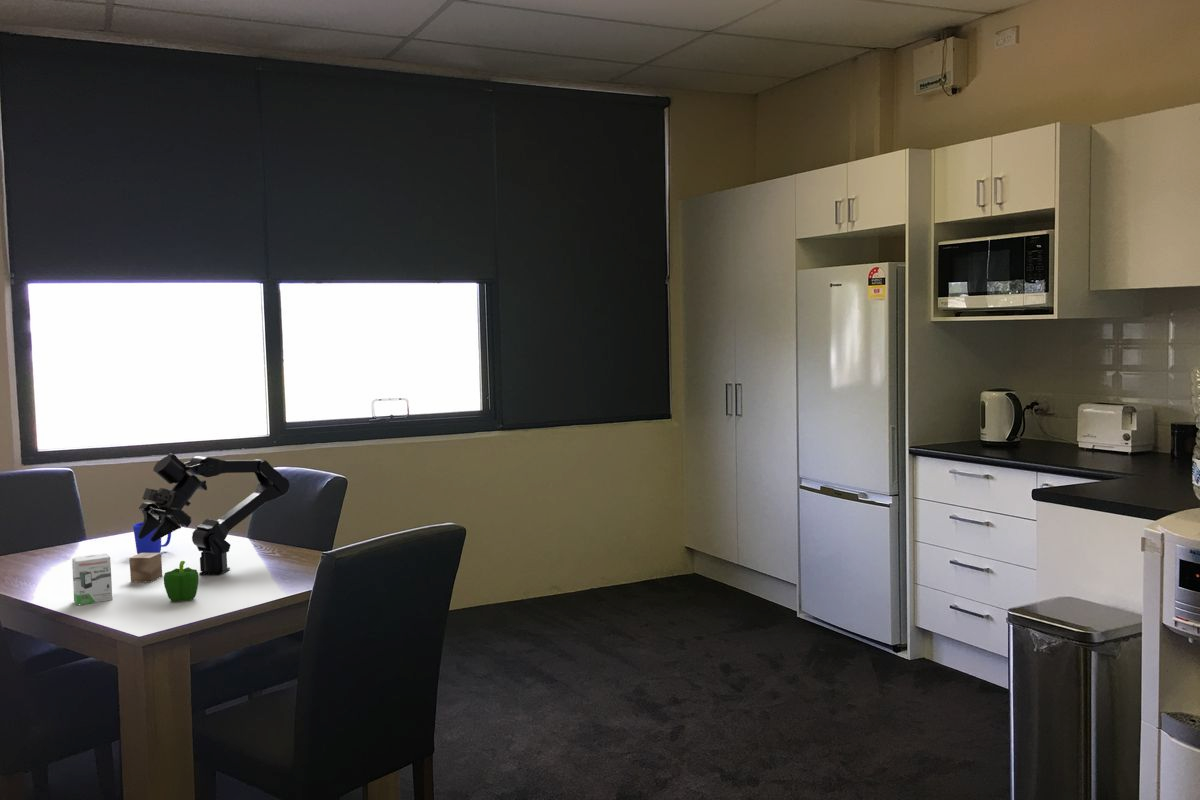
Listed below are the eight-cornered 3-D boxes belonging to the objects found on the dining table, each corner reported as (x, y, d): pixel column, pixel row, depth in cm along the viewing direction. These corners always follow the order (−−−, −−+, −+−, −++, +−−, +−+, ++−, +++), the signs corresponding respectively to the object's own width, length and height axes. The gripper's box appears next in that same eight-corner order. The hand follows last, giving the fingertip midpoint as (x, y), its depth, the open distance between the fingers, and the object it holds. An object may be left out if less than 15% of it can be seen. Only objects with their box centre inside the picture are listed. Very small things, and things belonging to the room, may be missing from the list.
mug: (179, 551, 310) (178, 520, 309) (144, 559, 300) (142, 527, 299) (164, 548, 315) (162, 518, 314) (129, 556, 305) (127, 525, 304)
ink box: (76, 606, 250) (73, 561, 249) (73, 601, 254) (71, 557, 253) (113, 599, 255) (110, 556, 254) (110, 595, 259) (107, 552, 258)
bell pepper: (187, 605, 249) (185, 567, 248) (159, 604, 251) (156, 566, 250) (206, 595, 257) (204, 559, 257) (178, 595, 259) (176, 558, 258)
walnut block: (162, 576, 279) (161, 552, 278) (151, 582, 273) (149, 557, 272) (142, 576, 279) (141, 552, 279) (130, 582, 273) (129, 557, 273)
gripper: (143, 474, 274) (106, 519, 266) (178, 479, 263) (140, 526, 255) (171, 497, 281) (136, 541, 273) (206, 503, 269) (171, 550, 262)
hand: (145, 539), depth 265 cm, fingers open, 6 cm apart
